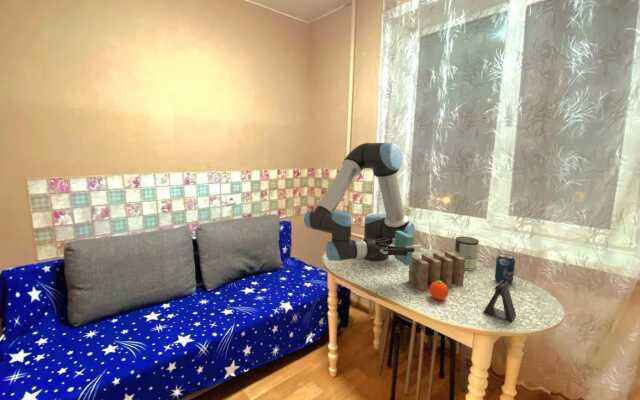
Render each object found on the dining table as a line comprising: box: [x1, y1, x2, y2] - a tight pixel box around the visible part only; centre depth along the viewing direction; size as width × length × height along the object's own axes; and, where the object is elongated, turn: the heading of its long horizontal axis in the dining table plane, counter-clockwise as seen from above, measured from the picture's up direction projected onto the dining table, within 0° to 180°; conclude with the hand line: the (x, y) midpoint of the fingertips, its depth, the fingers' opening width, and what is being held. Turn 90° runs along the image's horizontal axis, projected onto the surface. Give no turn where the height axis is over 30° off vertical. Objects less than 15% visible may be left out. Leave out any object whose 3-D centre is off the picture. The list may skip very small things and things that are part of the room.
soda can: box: [494, 253, 516, 285], centre depth 133 cm, size 7×7×12 cm
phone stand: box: [483, 280, 517, 323], centre depth 106 cm, size 9×6×12 cm, turn 46°
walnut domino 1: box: [408, 254, 429, 292], centre depth 129 cm, size 10×2×12 cm, turn 16°
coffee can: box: [454, 236, 480, 271], centre depth 149 cm, size 10×10×14 cm
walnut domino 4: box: [443, 250, 465, 287], centre depth 134 cm, size 10×2×12 cm, turn 16°
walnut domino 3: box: [432, 252, 453, 288], centre depth 132 cm, size 10×2×12 cm, turn 16°
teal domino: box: [393, 231, 414, 267], centre depth 127 cm, size 10×2×12 cm, turn 15°
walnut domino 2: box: [420, 253, 441, 287], centre depth 131 cm, size 10×2×12 cm, turn 16°
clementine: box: [429, 281, 449, 301], centre depth 118 cm, size 8×7×7 cm
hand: (412, 244), depth 128 cm, fingers closed on teal domino, 10 cm apart
